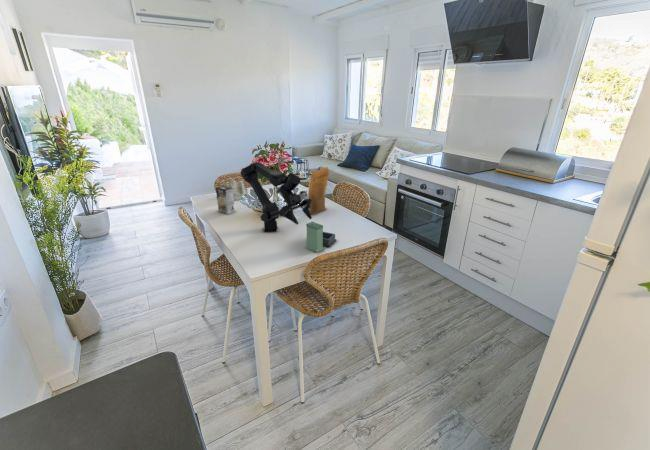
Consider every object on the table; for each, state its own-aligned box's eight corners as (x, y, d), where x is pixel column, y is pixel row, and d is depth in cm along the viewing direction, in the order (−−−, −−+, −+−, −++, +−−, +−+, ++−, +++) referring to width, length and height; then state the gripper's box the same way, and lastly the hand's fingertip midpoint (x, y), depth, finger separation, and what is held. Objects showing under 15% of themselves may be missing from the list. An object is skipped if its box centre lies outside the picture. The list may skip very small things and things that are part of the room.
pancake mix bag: (331, 209, 208) (332, 167, 196) (311, 216, 194) (311, 172, 183) (323, 206, 212) (324, 165, 200) (303, 214, 198) (303, 170, 187)
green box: (306, 247, 156) (306, 223, 151) (312, 245, 159) (312, 221, 154) (317, 252, 152) (317, 228, 147) (322, 249, 155) (323, 225, 150)
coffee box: (218, 211, 201) (214, 187, 195) (225, 208, 206) (223, 185, 200) (228, 214, 197) (225, 189, 190) (235, 211, 202) (233, 187, 195)
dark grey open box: (309, 242, 162) (308, 235, 160) (316, 236, 168) (316, 229, 167) (329, 247, 157) (329, 240, 155) (336, 241, 164) (336, 234, 162)
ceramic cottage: (251, 197, 227) (248, 177, 221) (228, 202, 219) (224, 181, 214) (244, 193, 239) (241, 173, 234) (223, 197, 232) (219, 177, 226)
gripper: (281, 190, 145) (298, 218, 143) (309, 182, 158) (325, 208, 155) (271, 203, 153) (287, 229, 150) (299, 194, 166) (314, 219, 163)
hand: (304, 221), depth 155 cm, fingers open, 9 cm apart
